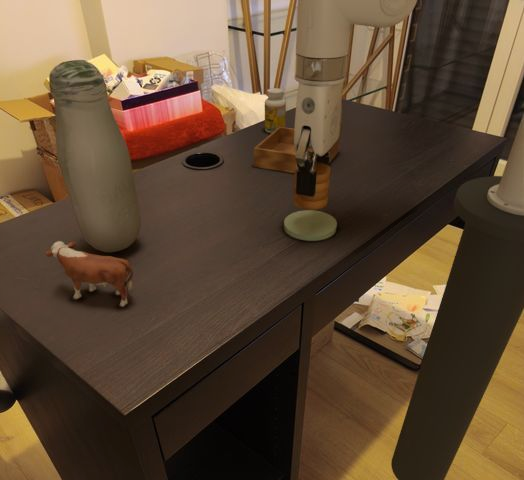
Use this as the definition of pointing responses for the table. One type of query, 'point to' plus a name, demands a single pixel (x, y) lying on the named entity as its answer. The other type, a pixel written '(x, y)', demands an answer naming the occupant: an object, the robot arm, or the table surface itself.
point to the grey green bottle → (94, 157)
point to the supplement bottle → (274, 110)
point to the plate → (310, 225)
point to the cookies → (320, 192)
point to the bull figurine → (93, 269)
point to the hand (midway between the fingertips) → (312, 185)
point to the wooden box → (282, 151)
